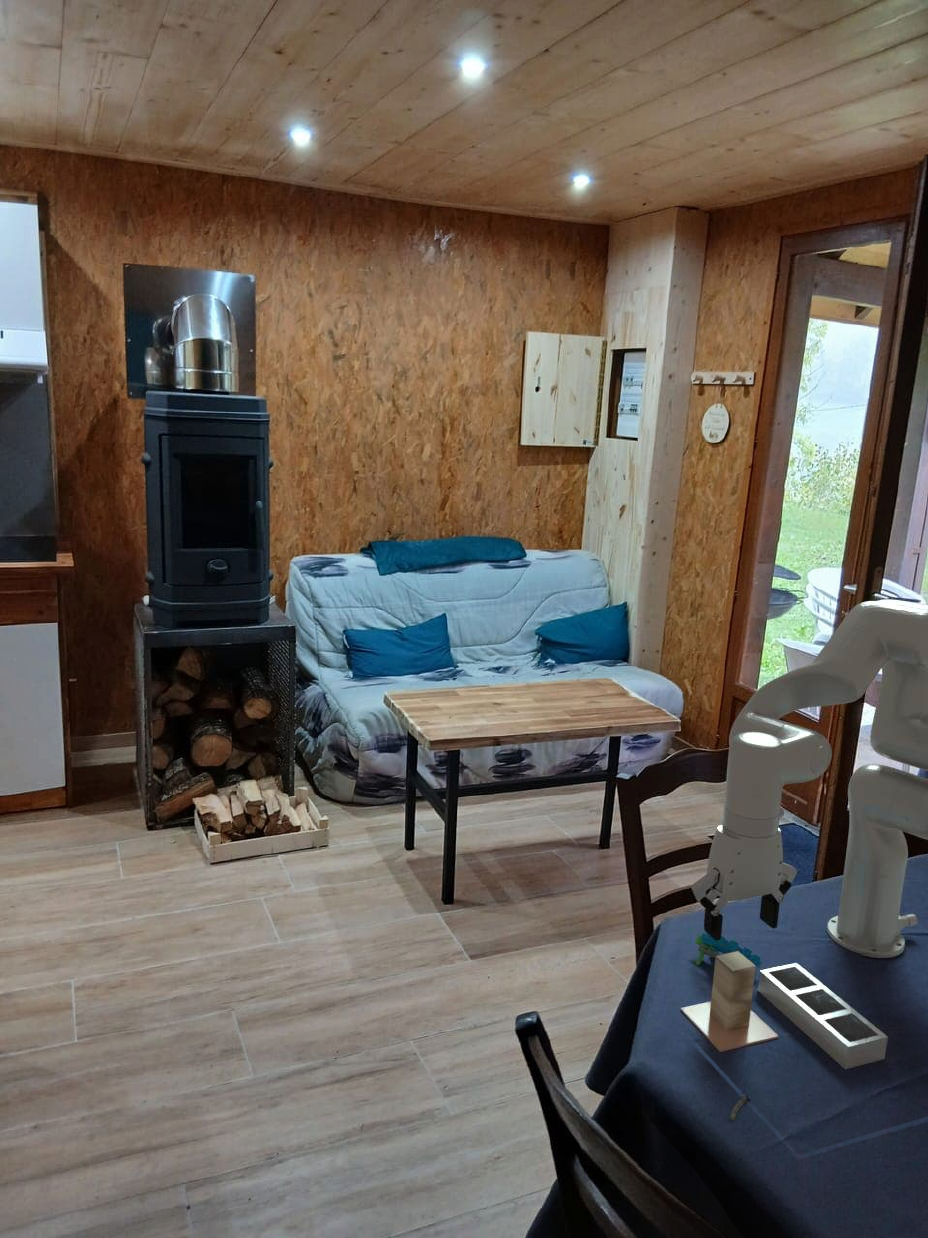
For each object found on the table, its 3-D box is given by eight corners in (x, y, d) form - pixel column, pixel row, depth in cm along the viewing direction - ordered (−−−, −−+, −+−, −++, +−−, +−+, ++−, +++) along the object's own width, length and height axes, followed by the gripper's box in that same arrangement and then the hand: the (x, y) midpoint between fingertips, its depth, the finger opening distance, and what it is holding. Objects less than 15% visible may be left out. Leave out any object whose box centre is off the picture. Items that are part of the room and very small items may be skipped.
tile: (735, 1000, 145) (736, 996, 145) (777, 1040, 136) (778, 1036, 136) (680, 1013, 142) (680, 1008, 142) (720, 1055, 133) (720, 1050, 132)
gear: (772, 966, 152) (748, 940, 146) (760, 1001, 150) (735, 976, 144) (713, 946, 160) (688, 920, 154) (700, 979, 158) (674, 954, 152)
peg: (731, 1011, 141) (738, 951, 139) (748, 1027, 138) (755, 965, 136) (709, 1016, 140) (715, 956, 138) (726, 1032, 136) (732, 971, 134)
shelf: (793, 985, 150) (796, 963, 149) (884, 1062, 132) (887, 1037, 132) (757, 993, 147) (760, 970, 146) (844, 1072, 130) (848, 1047, 129)
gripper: (783, 801, 138) (772, 906, 142) (683, 817, 132) (674, 926, 136) (818, 822, 132) (806, 932, 136) (714, 841, 126) (705, 955, 130)
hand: (740, 929), depth 136 cm, fingers open, 9 cm apart
